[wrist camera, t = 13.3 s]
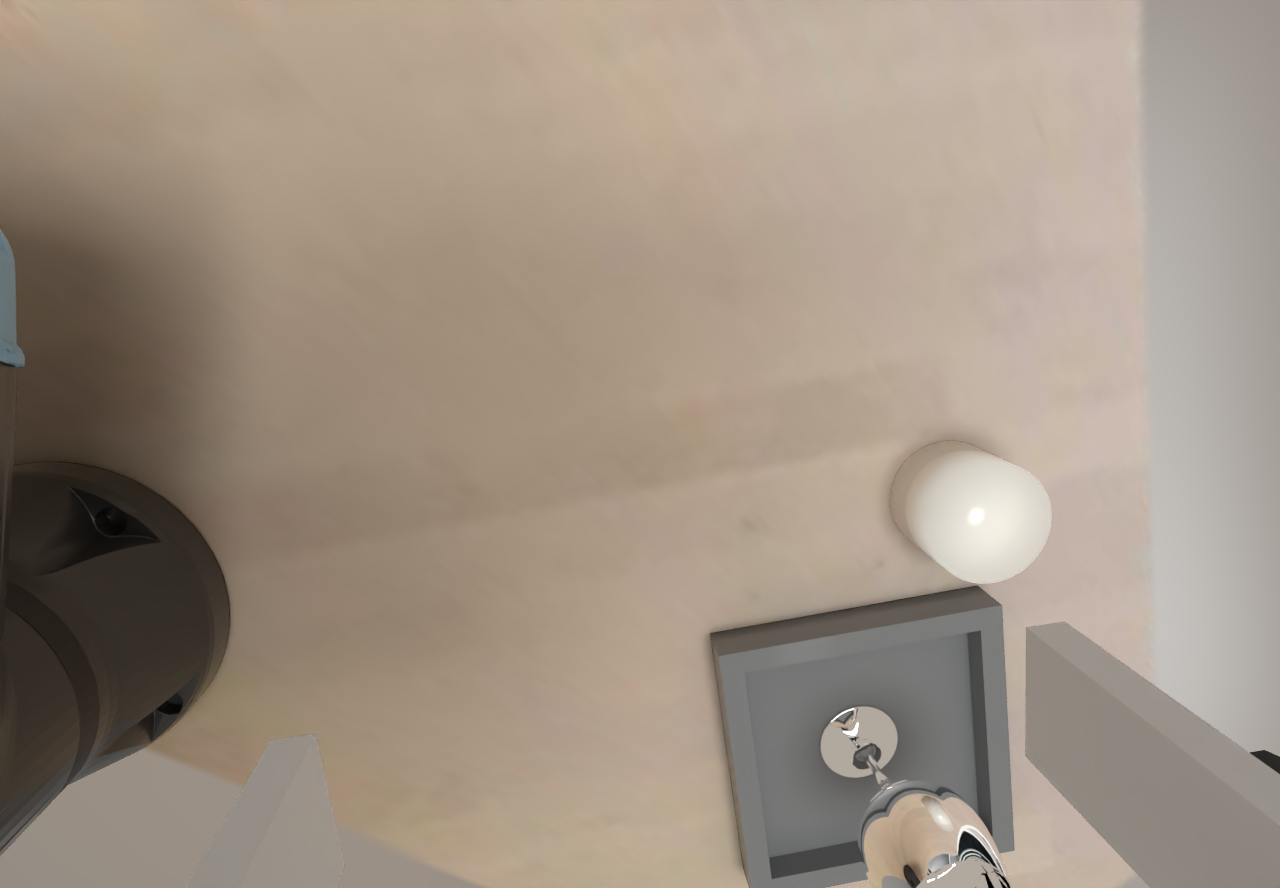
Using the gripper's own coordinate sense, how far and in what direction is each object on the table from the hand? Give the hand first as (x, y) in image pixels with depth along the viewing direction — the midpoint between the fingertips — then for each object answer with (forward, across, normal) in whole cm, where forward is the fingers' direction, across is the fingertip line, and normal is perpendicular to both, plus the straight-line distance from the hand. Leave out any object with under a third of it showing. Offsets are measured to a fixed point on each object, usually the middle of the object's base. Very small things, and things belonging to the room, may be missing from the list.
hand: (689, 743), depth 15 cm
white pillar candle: (+27, +18, -6) cm, 33 cm away
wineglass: (+26, +12, -19) cm, 34 cm away
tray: (+27, +12, -19) cm, 35 cm away
